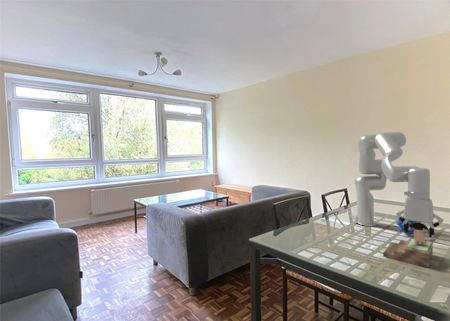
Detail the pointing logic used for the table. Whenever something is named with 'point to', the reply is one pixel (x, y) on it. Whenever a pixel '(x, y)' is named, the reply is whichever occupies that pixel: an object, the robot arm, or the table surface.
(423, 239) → the grandmother figurine
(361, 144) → the robot arm
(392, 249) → the step riser
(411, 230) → the grapes
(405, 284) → the table surface
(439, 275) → the table surface
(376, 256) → the table surface
